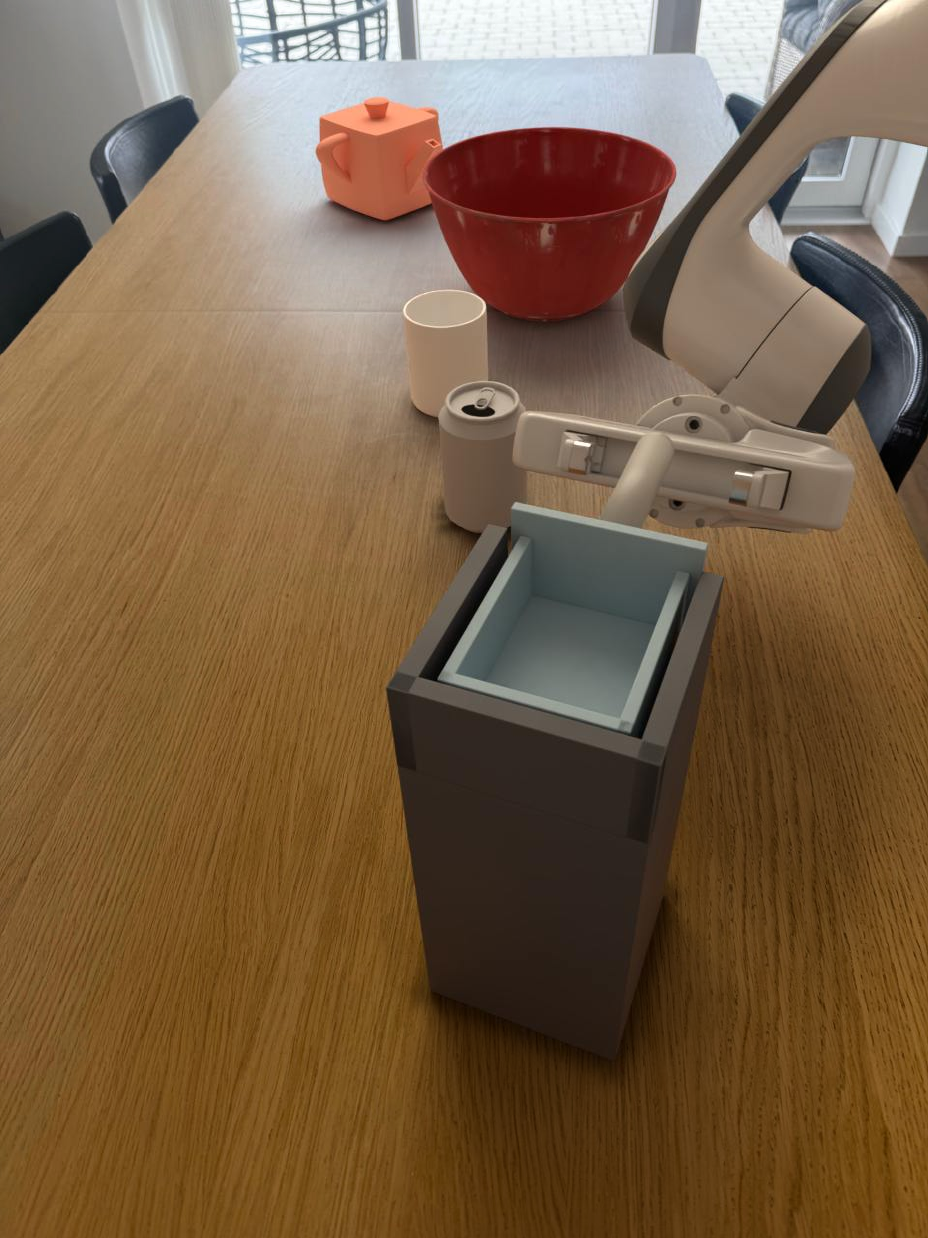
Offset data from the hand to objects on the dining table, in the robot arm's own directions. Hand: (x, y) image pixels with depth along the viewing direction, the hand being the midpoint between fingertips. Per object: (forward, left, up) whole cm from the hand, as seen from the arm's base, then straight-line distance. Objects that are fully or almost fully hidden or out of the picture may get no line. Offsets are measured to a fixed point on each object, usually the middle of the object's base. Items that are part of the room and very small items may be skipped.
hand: (657, 473), depth 53 cm
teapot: (+59, -86, -23) cm, 107 cm away
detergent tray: (0, +10, -2) cm, 10 cm away
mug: (+30, -40, -23) cm, 55 cm away
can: (+19, -21, -23) cm, 37 cm away
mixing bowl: (+28, -64, -23) cm, 74 cm away
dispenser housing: (0, +16, -23) cm, 28 cm away
